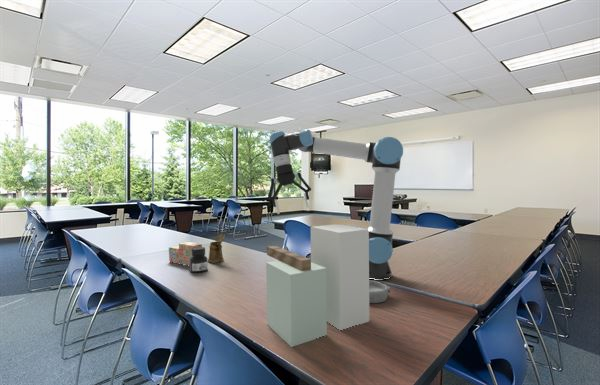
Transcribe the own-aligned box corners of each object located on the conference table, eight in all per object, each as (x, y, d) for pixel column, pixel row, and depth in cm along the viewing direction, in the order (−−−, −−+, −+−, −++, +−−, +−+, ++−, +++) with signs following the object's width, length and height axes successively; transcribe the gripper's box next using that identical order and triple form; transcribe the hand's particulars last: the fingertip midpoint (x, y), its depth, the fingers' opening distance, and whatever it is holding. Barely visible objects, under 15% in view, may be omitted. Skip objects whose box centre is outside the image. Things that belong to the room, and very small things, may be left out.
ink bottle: (193, 274, 151) (192, 251, 151) (186, 271, 158) (186, 248, 157) (211, 270, 158) (210, 248, 157) (204, 267, 164) (203, 245, 164)
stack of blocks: (168, 263, 175) (168, 242, 175) (178, 260, 181) (177, 240, 181) (193, 267, 165) (193, 245, 164) (202, 265, 170) (202, 243, 170)
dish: (368, 307, 108) (368, 293, 108) (345, 295, 121) (345, 282, 120) (397, 299, 115) (397, 287, 115) (373, 289, 127) (373, 277, 127)
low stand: (267, 324, 96) (266, 262, 95) (299, 315, 102) (298, 257, 101) (291, 347, 82) (290, 274, 81) (326, 335, 88) (326, 268, 88)
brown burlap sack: (215, 265, 168) (214, 233, 167) (205, 261, 178) (204, 231, 178) (229, 262, 173) (229, 232, 173) (219, 258, 184) (218, 229, 183)
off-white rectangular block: (311, 312, 104) (310, 226, 104) (338, 304, 110) (337, 224, 110) (340, 330, 91) (339, 232, 90) (369, 321, 97) (368, 229, 96)
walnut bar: (266, 254, 105) (266, 246, 105) (274, 253, 107) (274, 245, 107) (302, 271, 85) (302, 260, 85) (311, 269, 86) (310, 259, 86)
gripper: (255, 170, 134) (265, 216, 133) (309, 157, 133) (319, 204, 131) (258, 172, 142) (268, 216, 140) (310, 160, 141) (319, 204, 139)
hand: (293, 210), depth 136 cm, fingers open, 13 cm apart
